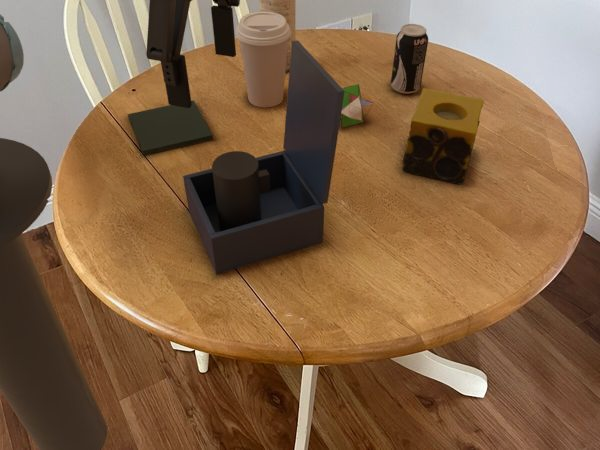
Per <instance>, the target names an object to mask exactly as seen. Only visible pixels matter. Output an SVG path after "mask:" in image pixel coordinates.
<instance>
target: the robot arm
mask: <svg viewBox="0 0 600 450" xmlns="http://www.w3.org/2000/svg"><path fill="white" fill-rule="evenodd" d="M192 1H193V0H149V7H148V21H147V22H148V23H147V37H146V53H145V55H146V58H147V59H148V60H152V61H157V62H160V66H161V71H162V76H163V82H164V85H165V90H166V96H167V103H168V106H169V105H174V106H179V107H184V108H190V107H191V106H192V103H191V101H192V97H191V91H190V90H191V89H190V83H189V76H188V69H187V62H186V56H185V55H184V54H181V51H182V48H183V47H182V46H183V42H184V36H185V31H186V26H187V21H188V16H189V10H190V5H191V2H192ZM212 2H213V3H214V4H216V5H212V6H211V7H210V14H211V22H212V32H213V40H214V42H213V43H214V51H215V55H219V56H224V57H230V58H235V57H236V56H237V49H236V38H235V37H236V34H235V24H234V11H233V10H234V9H233V7H234V8H235V7H236V8H238V7H239V6H240V4H241V0H212ZM24 57H25V56H24V49H23V46H22V42H21V40H20V37H19V34H17V31H16V30H15V28H14V27H13V25H12V24H11V23H10V22H9V21H5V17H4V16H3V15H2V14H0V92H4V90H6V89H7V88H8V87H9V85H10V84H11V83H12V82H14V81H15V80H16V79H17V78H18V77H19V76H20V74H21V72H22V70H23V68H24V67H23V66H24V61H25V58H24Z"/></svg>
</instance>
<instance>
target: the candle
mask: <svg viewBox="0 0 600 450" xmlns="http://www.w3.org/2000/svg"><path fill="white" fill-rule="evenodd" d="M484 103H485V100H484V99H483V98H477V97H471V96H465V95H461V94H455V93H450V92H446V91H442V90H436V89H431V88H425V87H423V88H422V90H421V92H420V96H419V99H418V102H417V105H416V108H415V110H414V113H413V115H412V117H411V121H410V127H409V133H408V138H407V145H406V149H405V152H404V156H403V160H402V165H403V166H402V167H401V169H402V172H404V173H409V174H413V175H417V176H423V177H425V178H430V179H435V180H440V181H443V182H449V183H453V184H456V185H463V184H464V182H465V179H466V177H467V176H466V175H467V173H468V168H469V164H470V161H471V156H472V152H473V150H474V144H475V141H476V138H477V134H478V130H479V129H478V128H479V126H480V122H481V121H480V117H481V113H482V109H483V107H484Z"/></svg>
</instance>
